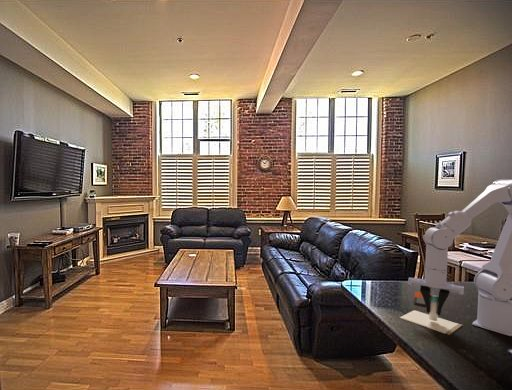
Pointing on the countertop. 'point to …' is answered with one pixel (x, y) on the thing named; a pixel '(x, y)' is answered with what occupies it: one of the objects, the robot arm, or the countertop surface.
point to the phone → (419, 299)
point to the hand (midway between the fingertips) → (433, 313)
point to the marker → (433, 307)
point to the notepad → (431, 322)
